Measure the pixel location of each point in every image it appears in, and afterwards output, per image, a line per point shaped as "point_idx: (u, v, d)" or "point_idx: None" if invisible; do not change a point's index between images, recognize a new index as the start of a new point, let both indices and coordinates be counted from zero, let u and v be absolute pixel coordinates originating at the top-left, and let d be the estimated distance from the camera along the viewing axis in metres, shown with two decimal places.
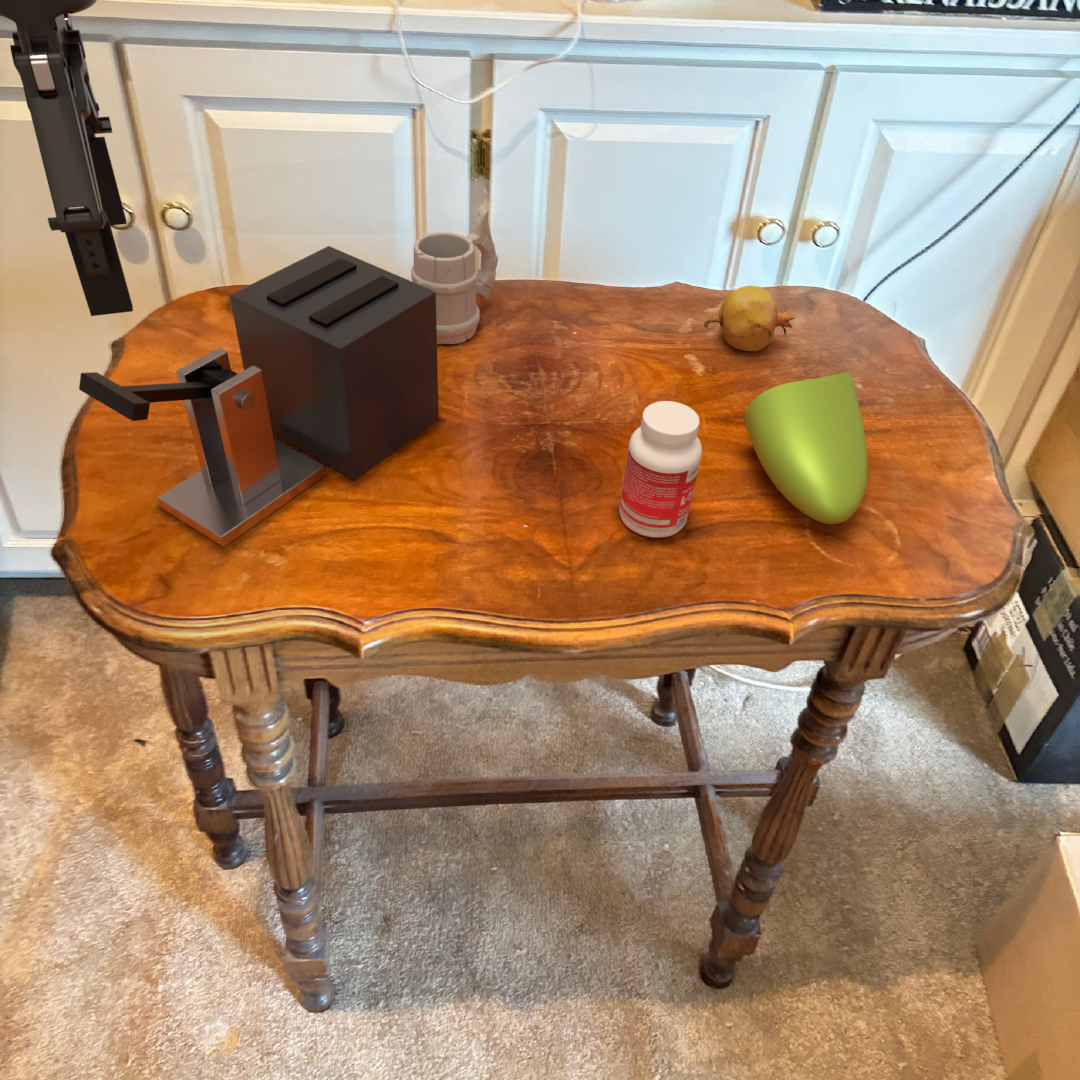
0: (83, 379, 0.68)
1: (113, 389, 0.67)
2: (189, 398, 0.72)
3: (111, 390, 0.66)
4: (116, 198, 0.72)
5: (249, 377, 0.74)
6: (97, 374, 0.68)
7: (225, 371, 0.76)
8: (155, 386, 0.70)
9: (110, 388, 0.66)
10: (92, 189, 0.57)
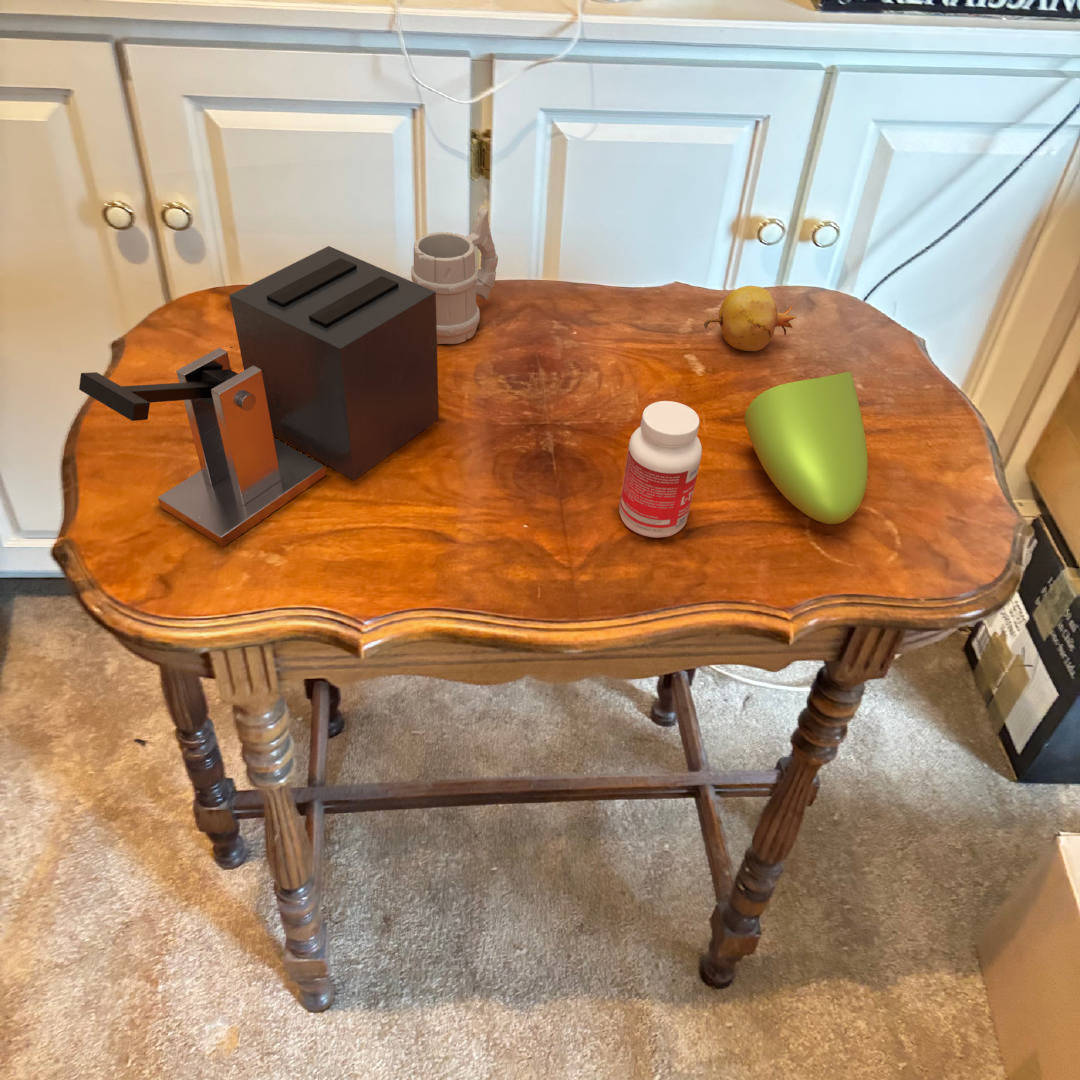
0: (83, 379, 0.68)
1: (113, 389, 0.67)
2: (189, 398, 0.72)
3: (111, 390, 0.66)
4: None
5: (249, 377, 0.74)
6: (97, 374, 0.68)
7: (225, 371, 0.76)
8: (155, 386, 0.70)
9: (110, 388, 0.66)
10: None
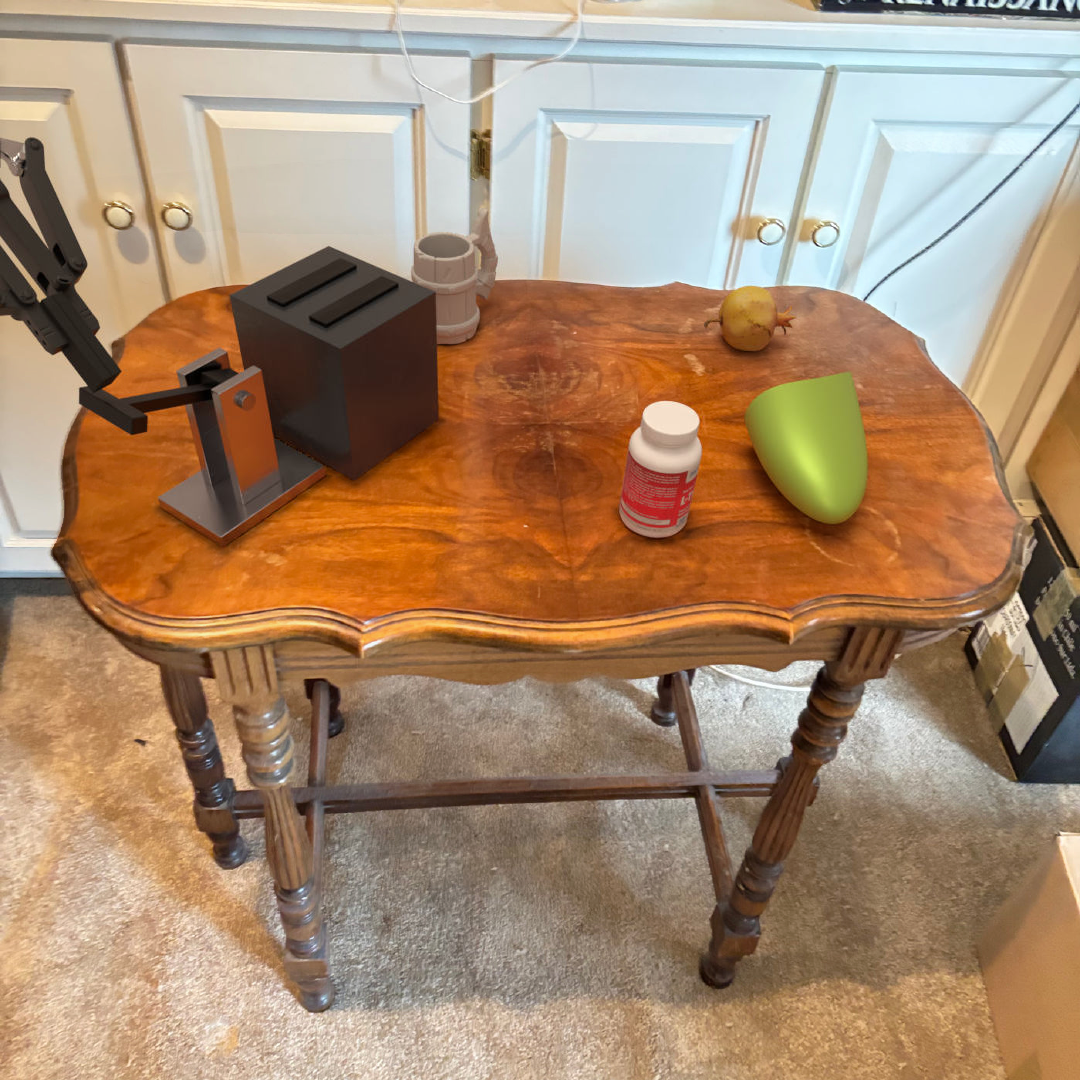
0: (82, 393, 0.68)
1: (111, 403, 0.67)
2: (189, 403, 0.73)
3: (109, 405, 0.67)
4: (92, 350, 0.65)
5: (249, 377, 0.74)
6: None
7: (224, 370, 0.76)
8: (154, 395, 0.70)
9: (108, 403, 0.67)
10: None
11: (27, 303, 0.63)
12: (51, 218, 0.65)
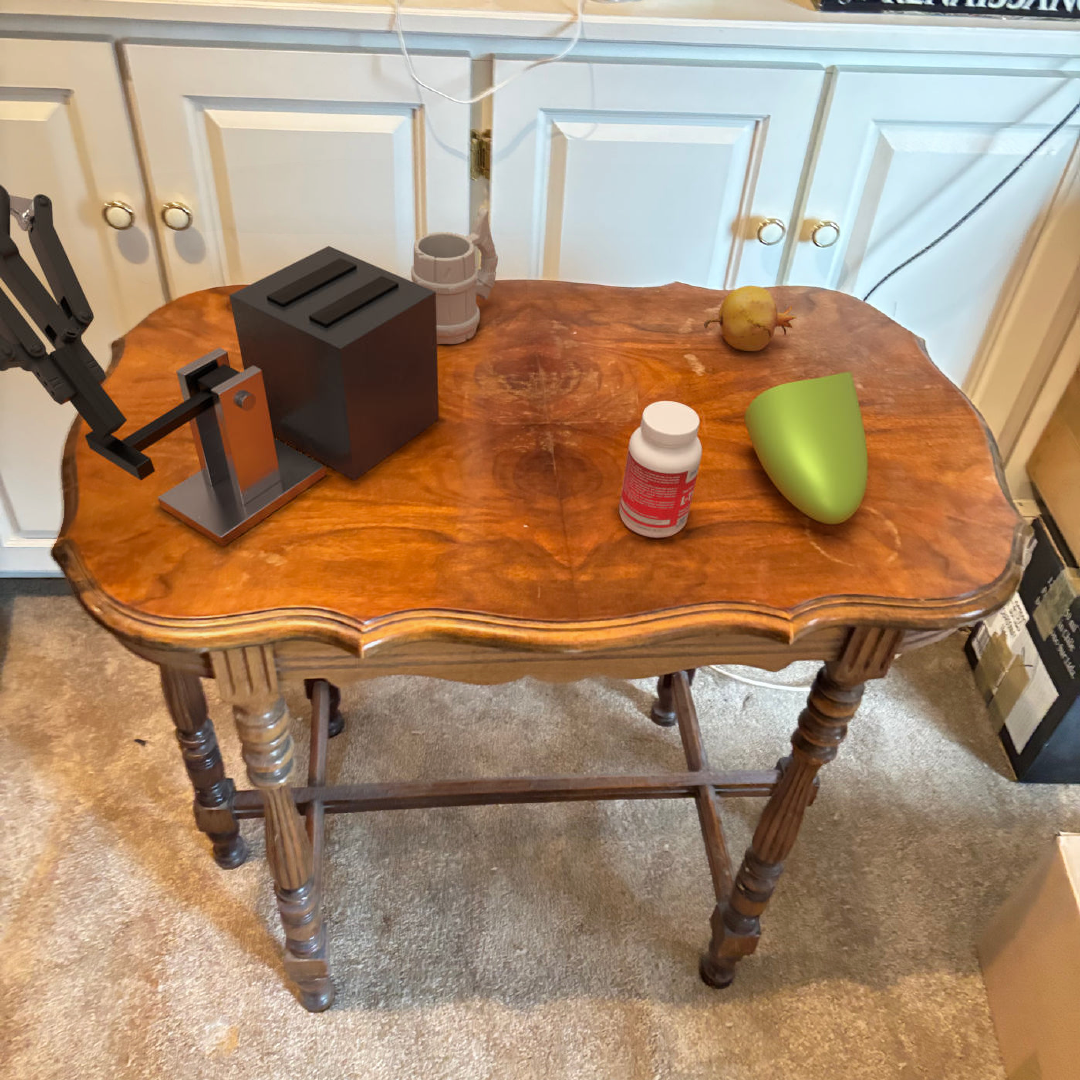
0: (89, 441, 0.70)
1: (115, 451, 0.69)
2: (192, 418, 0.74)
3: (113, 453, 0.69)
4: (98, 401, 0.67)
5: (249, 377, 0.74)
6: None
7: (219, 370, 0.75)
8: (155, 424, 0.72)
9: (112, 451, 0.69)
10: None
11: (36, 356, 0.66)
12: (59, 273, 0.68)
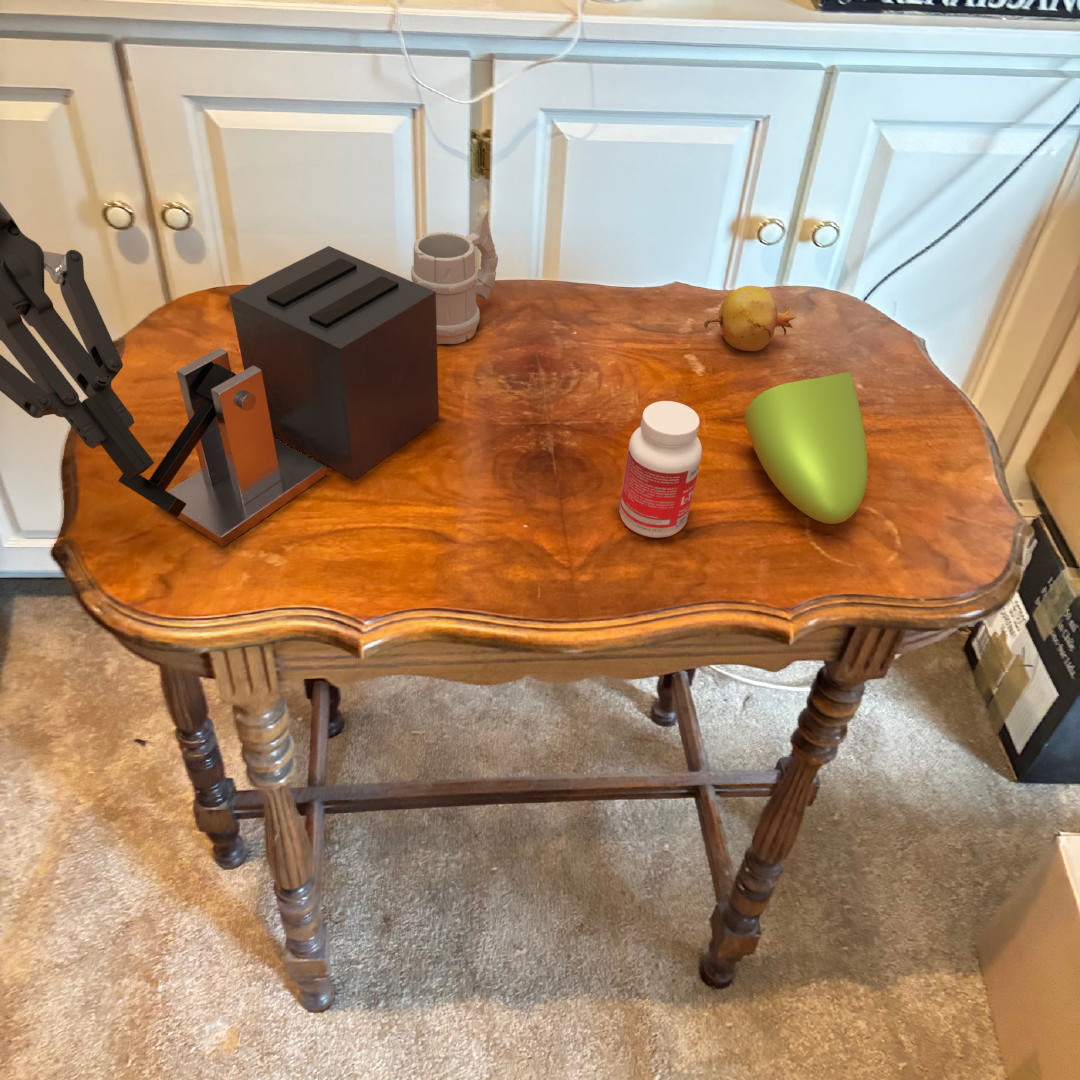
0: None
1: (146, 495, 0.73)
2: (204, 431, 0.75)
3: None
4: (128, 445, 0.71)
5: (249, 377, 0.74)
6: None
7: (212, 373, 0.75)
8: (172, 453, 0.74)
9: (144, 495, 0.74)
10: (17, 389, 0.67)
11: (70, 404, 0.69)
12: (90, 324, 0.71)
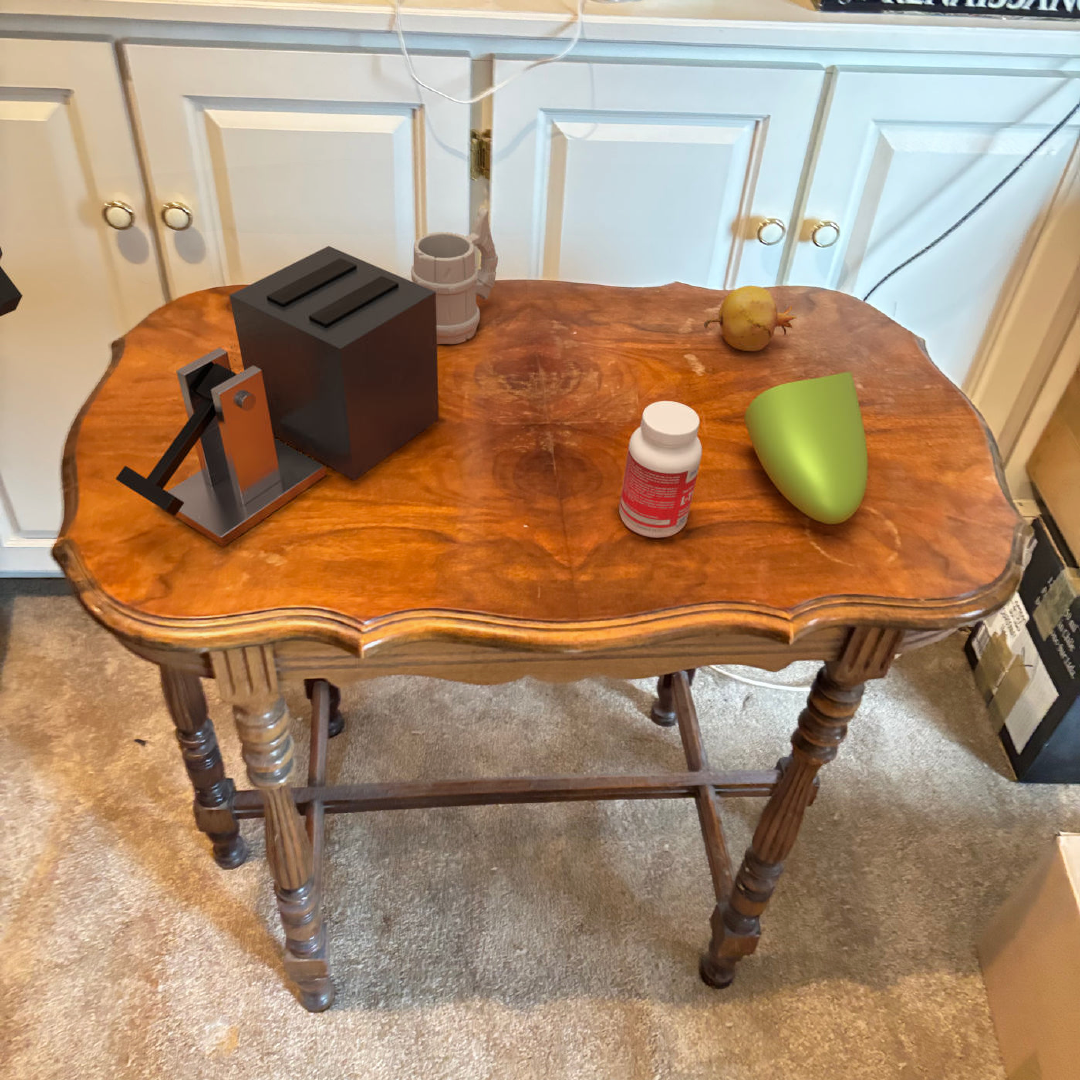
0: (121, 482, 0.75)
1: (144, 493, 0.73)
2: (203, 430, 0.75)
3: (143, 496, 0.73)
4: None
5: (249, 377, 0.74)
6: (126, 470, 0.74)
7: (213, 373, 0.75)
8: (171, 451, 0.74)
9: (142, 494, 0.73)
10: None
11: None
12: None
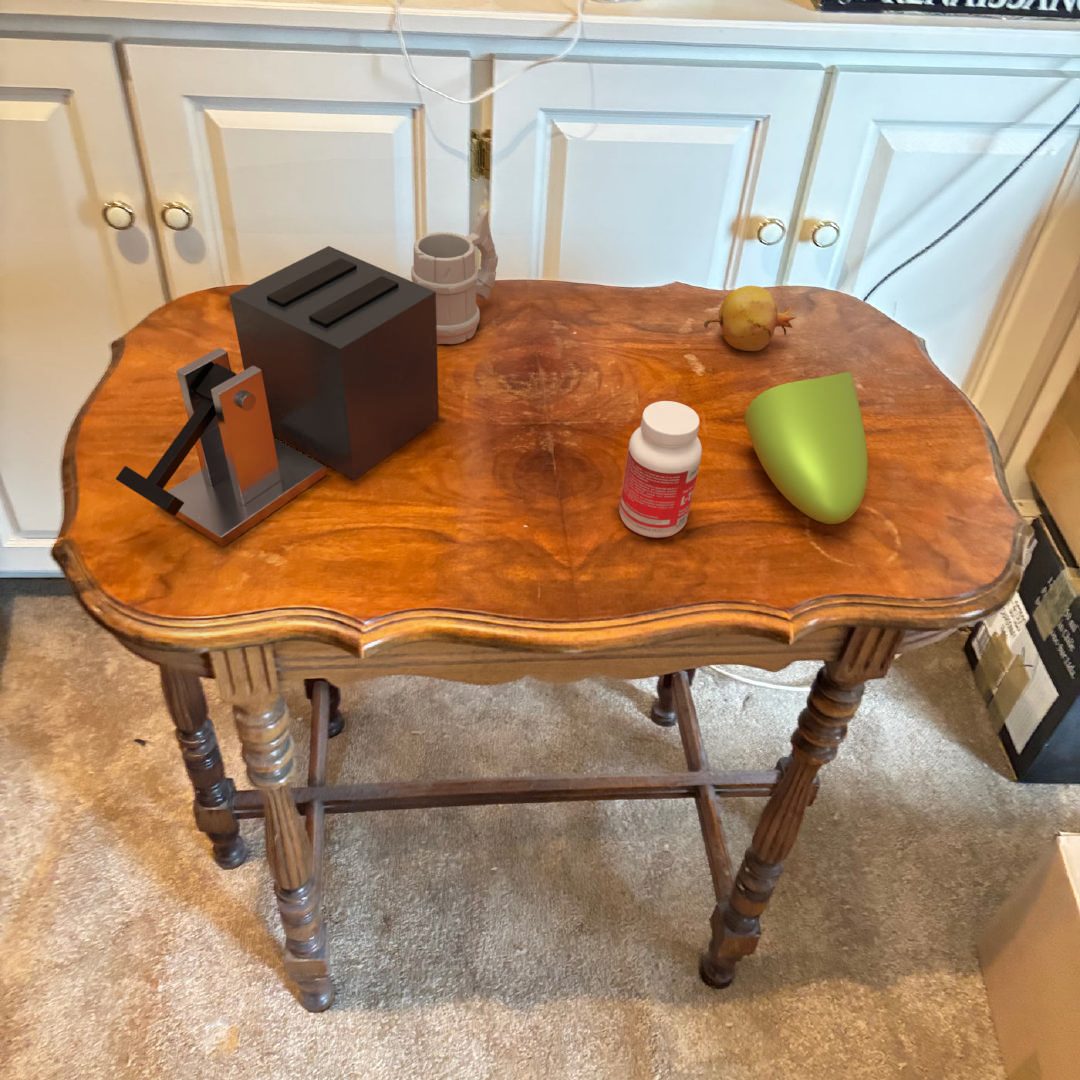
0: (121, 482, 0.75)
1: (144, 493, 0.73)
2: (203, 430, 0.75)
3: (143, 496, 0.73)
4: None
5: (249, 377, 0.74)
6: (126, 470, 0.74)
7: (213, 373, 0.75)
8: (171, 451, 0.74)
9: (142, 494, 0.73)
10: None
11: None
12: None
